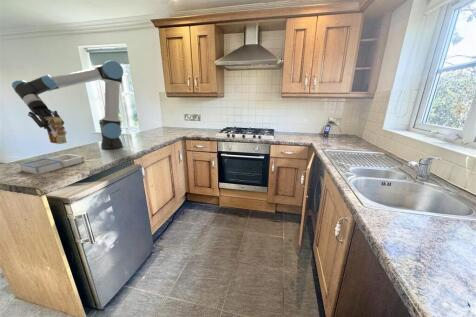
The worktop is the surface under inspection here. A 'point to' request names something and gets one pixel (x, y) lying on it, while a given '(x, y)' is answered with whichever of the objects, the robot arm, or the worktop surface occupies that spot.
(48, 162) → the organizer
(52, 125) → the candy box
